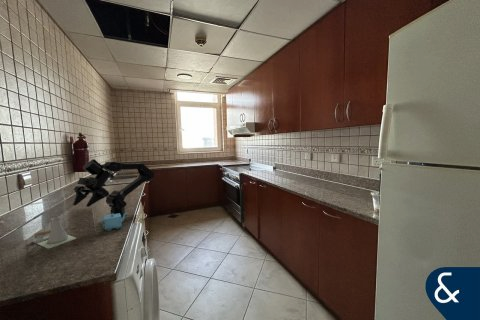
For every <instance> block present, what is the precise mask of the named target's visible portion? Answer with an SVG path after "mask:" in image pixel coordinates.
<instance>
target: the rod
mask: <svg viewBox="0 0 480 320" xmlns="http://www.w3.org/2000/svg"><path fill="white" fill-rule="evenodd" d="M51 229H52V228H50V229H46V230H43V231H40V232H36V233H34V234H33V237H36V236H38V235H41V234H42V236H44V235H47V234H48V235H49V234H50V232H51Z"/></svg>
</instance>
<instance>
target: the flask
mask: <svg viewBox="0 0 480 320" xmlns="http://www.w3.org/2000/svg"><path fill="white" fill-rule="evenodd" d="M50 221H51V228H50V229H51V232H50V233H49V234H48V235H49V238H48V241H47V243H57V242H61V241H63V240H65V239H67V238H68V235H69V234H67V232H66V230H65V229H64V228H63V226H62V224H61V217H60V216H59V217H53V218H51V219H50Z"/></svg>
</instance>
